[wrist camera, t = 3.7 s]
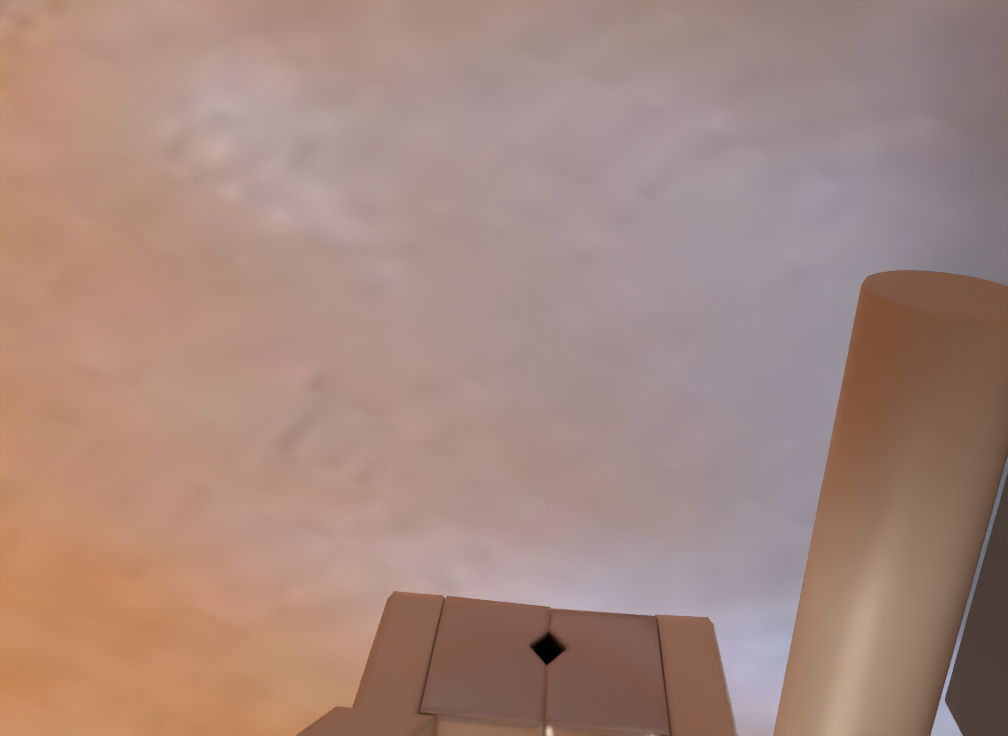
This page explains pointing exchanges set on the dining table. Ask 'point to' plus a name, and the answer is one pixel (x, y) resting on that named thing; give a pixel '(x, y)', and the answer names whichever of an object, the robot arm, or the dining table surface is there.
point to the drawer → (909, 521)
